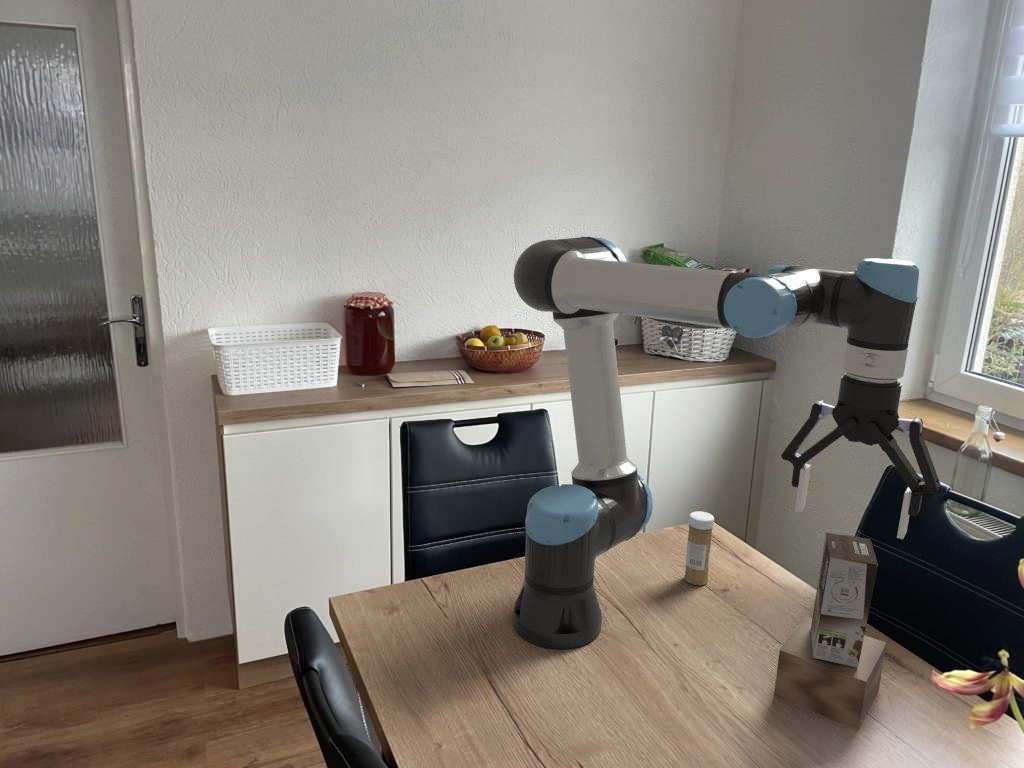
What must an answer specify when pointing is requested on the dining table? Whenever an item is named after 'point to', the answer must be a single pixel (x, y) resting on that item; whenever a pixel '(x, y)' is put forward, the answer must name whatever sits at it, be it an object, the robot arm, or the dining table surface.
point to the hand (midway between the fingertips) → (849, 521)
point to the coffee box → (843, 598)
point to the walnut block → (828, 678)
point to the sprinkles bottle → (698, 547)
